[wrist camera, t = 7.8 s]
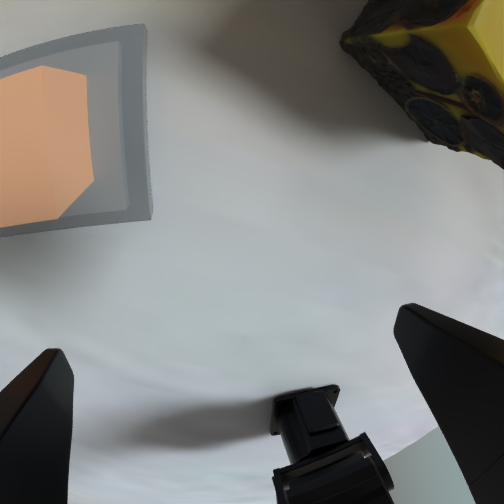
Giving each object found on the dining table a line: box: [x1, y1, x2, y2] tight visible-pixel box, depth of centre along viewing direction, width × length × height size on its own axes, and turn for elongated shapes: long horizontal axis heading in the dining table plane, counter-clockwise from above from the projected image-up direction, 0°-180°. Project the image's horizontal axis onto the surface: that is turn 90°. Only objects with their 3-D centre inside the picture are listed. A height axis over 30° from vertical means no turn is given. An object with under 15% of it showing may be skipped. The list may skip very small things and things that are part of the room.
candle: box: [340, 0, 504, 169], centre depth 11 cm, size 10×10×10 cm
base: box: [0, 24, 153, 237], centre depth 13 cm, size 10×10×2 cm
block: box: [0, 66, 94, 228], centre depth 9 cm, size 5×5×5 cm
